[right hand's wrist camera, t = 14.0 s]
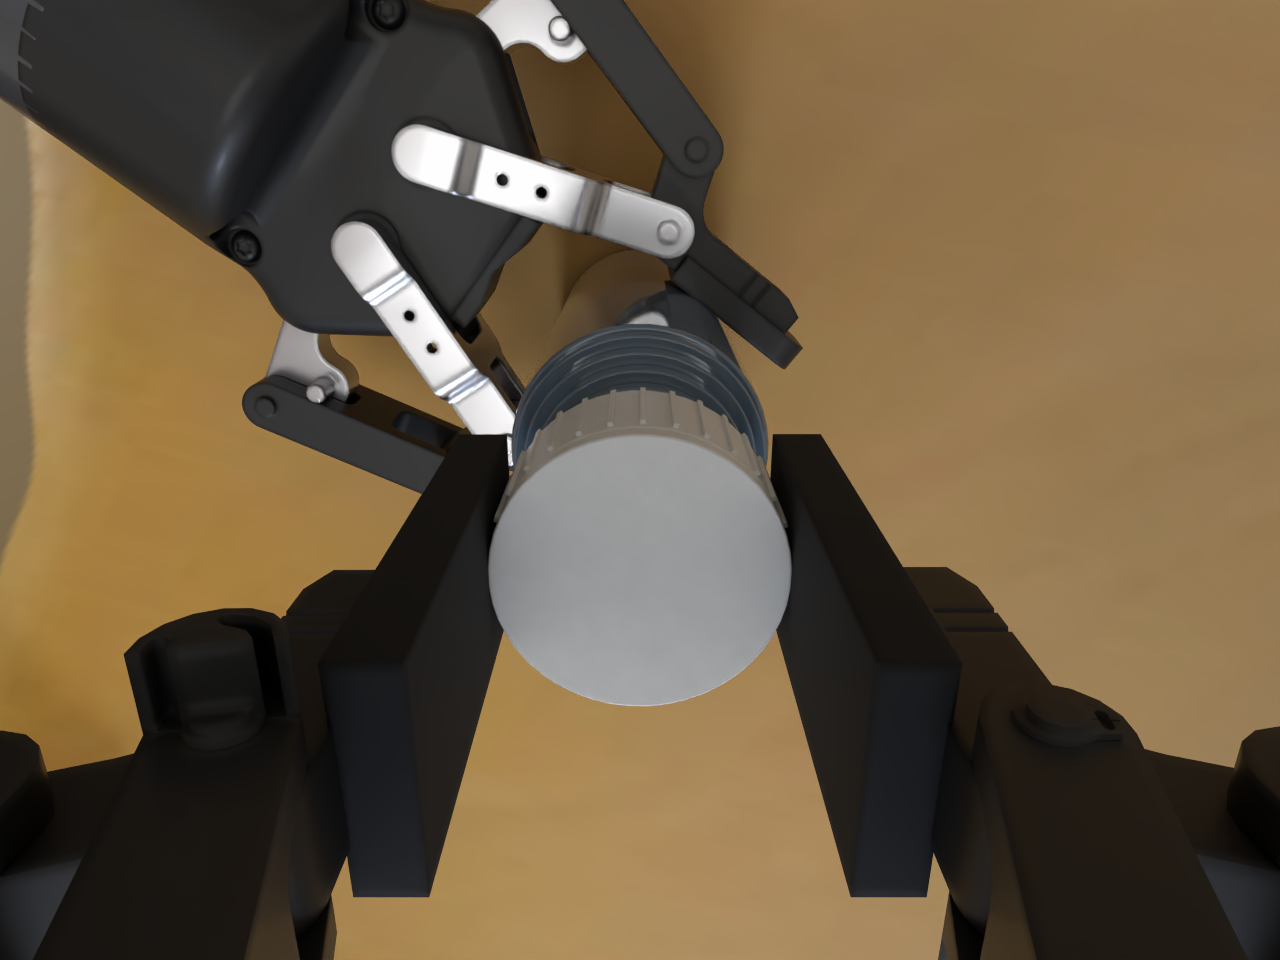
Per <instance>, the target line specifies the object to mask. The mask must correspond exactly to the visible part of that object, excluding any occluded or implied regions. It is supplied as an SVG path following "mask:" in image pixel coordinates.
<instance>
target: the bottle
mask: <svg viewBox="0 0 1280 960" xmlns="http://www.w3.org/2000/svg"><path fill="white" fill-rule="evenodd" d="M640 387H645V388H646V391H657V392H664V393H669V392H670V391H675V395H677V396H681V397H684V398H687V399H690V400H692V401H694V402H697V400H700V401H702V402H703V405H704V406H705V407H707V408H709V409H710V410H712V411H714V412H716V413H717V414H718V415H720V416H722V414H724V415H726V416H727V418H728V421H729V423H730V424H731V425H732V426H733V427H734V428H735V429H736V430H737V431H738V432H739V433H740V434H741V435H742V434H743V433H745V434H746V435H747V437H748V440H749V442H750V445H751V448H752V449H753V451H754V453H755V455H756V457H757V456H759V455H761V457H762V459H763V462H764V465H765V467H766V465H767V460H768V432H767V425H766V420H765V416H764V412H763V409H762V406H761V404H760V401H759V399H758V396H757V394H756V392H755V390H754V387H753V385H752V383H751V381H750V379H749V377H748V375H747V372H746V370H745V368H744V366H743V364H742V362H741V359H740V357H739V355H738V353H737V351H736V349H735V346H734V344H733V342H732V340H731V338H730V336H729V334H728V331H727V329H726V327H725V325H724V323H723V321H721V320H720V319H719V318H718V317H716V316H715V315H714V314H713V313H712V312H711V311H710V310H709V309H708V308H706V307H705V306H704V305H703V304H701V303H700V302H699V301H697V300H696V299H694V298H693V297H691V296H690V295H689V294H688V293H686V292H685V291H684V290H683V289H681V288H680V287H679V286H678V285H676V284H675V283H674V282H672V281H671V280H670V276H669V271H668V266H667V265H666V264H665V263H663V262H662V261H661V260H660V259H658V258H657V257H656V256H655V255H652V254H648V253H645V252H642V251H639V250H636V249H632V250H625V251H621V252H617V253H614V254H611V255H609V256H607V257H604V258H603V259H601V260H599V261H598V262H596V263H595V264H593V265H592V266H591V267H590V268H589V269H587V270H586V271H585V272H584V273H583V275H582V276H581V277H580V278H579V279H578V281H577V282H576V283H575V285H574V287H573V288H572V290H571V292H570V294H569V296H568V298H567V300H566V303H565V305H564V307H563V309H562V311H561V313H560V316H559V318H558V320H557V322H556V324H555V326H554V329H553V331H552V333H551V335H550V337H549V339H548V342H547V344H546V346H545V348H544V350H543V352H542V354H541V357H540V359H539V361H538V363H537V365H536V367H535V370H534V372H533V374H532V376H531V378H530V380H529V383H528V385H527V387H526V389H525V391H524V393H523V396H522V398H521V400H520V403H519V406H518V409H517V411H516V415H515V419H514V424H513V428H512V441H511V449H512V462H513V467H514V468H515V466H516V463H517V461H518V458H519V455H520V453H521V452H522V450H523V451H525V452H526V451H527V449H528V447H529V446H530V445H531V444H532V442H533V439H534V437H535V434H536V432H537V430H538V429H541V430H542V431H543V430H544V429H545V428H546V427H547V426H548V425H549V424H550V423H551V422H552V421H553V420H555V419H556V416H557V413H558V412H560V411H562V412H563V413H564V412H566V411H568V410H569V409H571V408H573V407H575V406H577V405H578V404H580V403H582V399H584V398H586V397H587V398H588V400H590V399H593V398H595V397H599V396H603V395H607V394H610V391H611V390H615V389H616V392H623V391H632V390H635V391H640Z"/></svg>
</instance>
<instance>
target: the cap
mask: <svg viewBox="0 0 1280 960" xmlns="http://www.w3.org/2000/svg"><path fill="white" fill-rule="evenodd" d="M493 521H494V522H497V524H496V527H495V529H494V532H493V536H492V540H491V544H490V549H489V558H488V577H489V589H490V594H491V599H492V604H493V606H494V609H495V612H496V615H497V617H498V620H499V622H500V624H501V626H502V628H503V630H504V631H505V633H506V635H507V637H508V638H509V640H510V641H511V642H512V644H513V645H514V647H515V648H516V649H517V651H518V652H519V653H520V654H521V655H522V656H523V657H524V658H525V659H526V660H527V662H528V663H529V664H530V665H532V666H533V667H534V668H535V669H536V670H538V671H539V672H540V673H541V674H542V675H544V676H545V677H547V678H548V679H550V680H551V681H553V682H555V683H556V684H558V685H559V686H561V687H563V688H565V689H567V690H569V691H572V692H574V693H576V694H579V695H581V696H584V697H587V698H590V699H593V700H597V701H601V702H605V703H610V704H617V705H626V706H653V705H663V704H670V703H674V702H679V701H683V700H687V699H690V698H693V697H696V696H699V695H702V694H704V693H706V692H708V691H710V690H712V689H714V688H717V687H719V686H720V685H722V684H724V683H725V682H727V681H728V680H730V679H732V678H733V677H735V676H736V675H737V674H738V673H740V672H741V671H742V670H743V669H745V668H746V667H747V666H748V665H749V664H750V663H751V662H752V661H753V660H754V659H755V658H756V657H757V656H758V655H759V654H760V653H761V652H762V650H763V649H764V648H765V646H766V645H767V643H768V642H769V641H770V639H771V638H772V636H773V634H774V633H775V631H776V629H777V627H778V625H779V624H780V622H781V619H782V617H783V614H784V611H785V609H786V606H787V602H788V598H789V593H790V589H791V575H792V561H791V550H790V546H789V541H788V537H787V533H786V530H785V528H786V527H788V524H787V521H786V518H785V516H784V513H783V511H782V508H781V506H780V503H779V500H778V498H777V495H776V493H775V490H774V487H773V485H772V482H771V480H770V477H769V475H768V472H767V470H766V467H765V465H764V462H763V459H762V457H761V455H759V456H757V457H756V455H755V453H754V451H753V449H752V448H751V445H750V442H749V440H748V437H747V435H746V434H745V433H743V434H742V435H741V434H740V433H739V432H738V431H737V430H736V429H735V428H734V427H733V426H732V425H731V424H730V423H729V421H728V418H727V416H726V415H724V414H722V416H720V415H718V414H717V413H716V412H714V411H712V410H710V409H709V408H707V407H705V406H704V405H703V402H702V401H700V400H697V402H694V401H692V400H690V399H687V398H684V397H681V396H677V395H675V391H670V392H669V393H664V392H657V391H646V388H645V387H640V391H635V390H632V391H623V392H616V389H615V390H611V391H610V394H607V395H603V396H599V397H595V398H593V399H590V400H588V398H587V397H586V398H584V399H582V403H580V404H578V405H577V406H575V407H573V408H571V409H569V410H568V411H566V412H564V413H563V412H562V411H560V412H558V413H557V416H556V419H555V420H553V421H552V422H551V423H550V424H549V425H548V426H547V427H546V428H545V429H544V430H543V431H542V430H541V429H538V430H537V432H536V434H535V437H534V439H533V442H532V444H531V445H530V446H529V447H528V449H527V451H526V452H525V451H523V450H522V452H521V453H520V455H519V458H518V461H517V463H516V466H515V468H514V471H513V474H512V475H510V478H509V481H508V483H507V486H506V488H505V491H504V494H503V496H502V499H501V501H500V504H499V506H498V509H497V512H496V514H495V517H494V520H493Z"/></svg>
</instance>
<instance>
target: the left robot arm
mask: <svg viewBox="0 0 1280 960" xmlns="http://www.w3.org/2000/svg"><path fill="white" fill-rule="evenodd" d="M521 47H533V48H536V49H538V50H540V51H542V52H543V53H544V54H545V55H546V56H547V57H548V58H549V59H551V60H552V61H553V62H555V63H557V64H560V65H573V64H576V63H578V62H579V61H581V60H582V59H583V58H584V57H585V56H586V55H588V54H589V55H590V56H591V57H592V59H593V60H594V61H595V63H596V64H597V65H598V67H599V68H600V69H601V71H602V72H603V73H604V75H605V76H606V77H607V79H608V80H609V82H610V83H611V84H612V86H613V87H614V88H615V90H616V91H617V92H618V94H619V95H620V96H621V98H622V99H623V100H624V102H625V103H626V104H627V106H628V107H629V108H630V110H631V111H632V112H633V114H634V115H635V116H636V118H637V119H638V120H639V122H640V123H641V124H642V126H643V127H644V128H645V130H646V131H647V132H648V134H649V135H650V136H651V138H652V139H653V140H654V142H655V143H656V144H657V146H658V147H659V148H660V150H661V151H662V152H663V157H662V161H661V164H660V167H659V170H658V173H657V177H656V180H655V183H654V186H653V189H652V193H650V192H647V191H644V190H641V189H638V188H635V187H632V186H629V185H626V184H623V183H620V182H617V181H614V180H611V179H609V178H606V177H604V176H601V175H598V174H595V173H593V172H590V171H586V170H583V169H580V168H577V167H574V166H571V165H568V164H565V163H562V162H559V161H556V160H553V159H550V158H547V157H544V156H541V155H540V152H539V148H538V145H537V142H536V139H535V135H534V132H533V129H532V126H531V122H530V119H529V116H528V113H527V109H526V106H525V103H524V100H523V97H522V93H521V90H520V87H519V84H518V80H517V77H516V74H515V71H514V67H513V64H512V61H511V58H510V55H509V54H510V53H511V52H513V51H514V50H516V49H518V48H521ZM0 99H1V100H3V101H4V102H6V103H7V104H9V105H10V106H11V107H13V108H14V109H16V110H17V111H18V112H20V113H21V114H23V115H24V116H26V117H27V118H28V119H30V120H31V121H33V122H34V123H35V124H37V125H38V126H40V127H41V128H42V129H44V130H45V131H47V132H48V133H50V134H51V135H52V136H54V137H55V138H57V139H58V140H60V141H61V142H63V143H64V144H65V145H67V146H68V147H70V148H71V149H72V150H74V151H75V152H77V153H78V154H80V155H81V156H82V157H84V158H85V159H87V160H88V161H89V162H91V163H92V164H93V165H95V166H96V167H98V168H99V169H101V170H102V171H103V172H105V173H106V174H108V175H109V176H110V177H112V178H113V179H115V180H116V181H118V182H119V183H120V184H122V185H123V186H125V187H126V188H127V189H129V190H130V191H132V192H133V193H135V194H136V195H137V196H139V197H140V198H142V199H143V200H144V201H146V202H147V203H149V204H150V205H152V206H153V207H154V208H156V209H157V210H159V211H160V212H161V213H163V214H164V215H166V216H167V217H169V218H170V219H171V220H173V221H174V222H176V223H177V224H178V225H180V226H181V227H183V228H184V229H186V230H187V231H188V232H190V233H191V234H193V235H194V236H195V237H197V238H198V239H200V240H201V241H203V242H204V243H205V244H207V245H208V246H210V247H211V248H213V249H215V250H216V251H218V252H219V253H221V254H223V255H224V256H226V257H228V258H229V259H231V260H233V261H234V262H236V263H237V264H239V265H240V266H242V267H243V268H244V269H246V270H247V271H248V272H249V273H250V274H251V275H252V276H253V277H254V278H255V280H256V281H257V282H258V283H259V285H260V286H261V287H262V289H263V290H264V292H265V293H266V295H267V297H268V299H269V301H270V303H271V304H272V306H273V308H274V309H275V311H276V312H277V313H278V314H279V315H280V316H281V317H282V318H283V319H284V320H283V324H282V327H281V330H280V333H279V336H278V339H277V343H276V346H275V349H274V352H273V355H272V358H271V361H270V365H269V368H268V371H267V374H266V376H265V377H264V378H263V379H262V380H260V381H259V382H257V383H255V384H254V385H252V386H251V387H249V388H248V389H247V390H246V392H245V393H244V395H243V399H242V406H243V410H244V413H245V415H246V416H247V418H248V419H249V420H250V421H251V422H252V423H253V424H255V425H256V426H258V427H260V428H263V429H265V430H268V431H270V432H273V433H275V434H277V435H280V436H282V437H285V438H287V439H290V440H292V441H294V442H297V443H299V444H302V445H304V446H307V447H309V448H311V449H314V450H316V451H319V452H321V453H324V454H326V455H328V456H331V457H333V458H336V459H338V460H341V461H343V462H345V463H348V464H350V465H353V466H355V467H358V468H360V469H362V470H365V471H367V472H370V473H372V474H375V475H377V476H379V477H382V478H384V479H387V480H389V481H392V482H394V483H396V484H399V485H401V486H404V487H406V488H409V489H411V490H414V491H416V492H418V493H421V494H423V492H424V490H425V489H426V487H427V486H428V484H429V482H430V481H431V479H432V477H433V476H434V474H435V473H436V471H437V469H438V468H439V466H440V465H441V463H442V461H443V460H444V458H445V456H446V455H447V453H448V452H449V450H450V448H451V447H452V445H453V444H454V442H455V440H456V439H457V437H458V435H459V434H507V443H508V461H509V471H514V467H513V462H512V449H511V441H512V428H513V424H514V419H515V415H516V411H517V409H518V406H519V403H520V400H521V398H522V396H523V393H524V391H525V387H524V386H523V384H522V383H521V381H520V380H519V378H518V377H517V375H516V374H515V372H514V371H513V369H512V368H511V367H510V365H509V364H508V362H507V361H506V359H505V357H504V356H503V353H502V350H501V347H500V344H499V342H498V340H497V338H496V337H495V335H494V333H493V332H492V330H491V329H490V327H489V326H488V325H487V323H486V322H485V320H484V319H483V317H482V316H481V314H480V313H479V312H480V311H481V309H482V308H483V306H484V305H485V304H486V302H487V301H488V299H489V298H490V297H491V295H492V294H493V292H494V291H495V289H496V286H497V283H498V281H499V278H500V275H501V272H502V269H503V267H504V264H505V262H506V261H507V260H509V259H510V258H511V257H512V256H514V255H515V254H516V253H517V252H518V251H520V250H521V249H522V248H523V247H524V246H525V245H526V244H528V243H529V242H530V241H531V239H532V238H533V236H534V235H535V234H536V232H537V231H538V229H539V228H540V226H541V225H542V224H543V222H544V223H547V224H550V225H553V226H556V227H559V228H563V229H566V230H569V231H572V232H576V233H580V234H584V235H591V236H595V237H599V238H602V239H605V240H608V241H611V242H614V243H617V244H620V245H624V246H627V247H630V248H633V249H636V250H639V251H642V252H645V253H648V254H652V255H655V256H656V257H657V258H658V259H660V260H661V261H662V262H663V263H665V264H666V265H667V266H668V271H669V276H670V280H671V281H672V282H674V283H675V284H676V285H678V286H679V287H680V288H681V289H683V290H684V291H685V292H686V293H688V294H689V295H690V296H691V297H693V298H694V299H696V300H697V301H699V302H700V303H701V304H703V305H704V306H705V307H706V308H708V309H709V310H710V311H711V312H712V313H713V314H714V315H715V316H716V317H718V318H719V319H720V320H721V321H723V322H724V323H725V324H726V325H728V326H729V327H730V328H731V329H733V330H734V331H735V332H736V333H738V334H739V335H740V336H741V337H743V338H744V339H745V340H746V341H748V342H749V343H750V344H751V345H753V346H754V347H755V348H756V349H758V350H759V351H760V352H761V353H763V354H764V355H765V356H767V357H768V358H769V359H770V360H772V361H773V362H774V363H775V364H777V365H778V366H779V367H781V368H783V369H785V368H786V367H787V366H788V365H789V364H790V363H791V361H792V360H793V359H794V358H795V357H796V356H797V354H798V353H799V352H800V351H801V350H802V349H803V347H802V346H801V345H800V344H799V342H798V341H797V340H796V339H795V337H794V336H793V335H792V334H791V333H790V332H788V329H789V328H790V327H791V326H792V325H793V324H794V322H795V321H796V320H797V319H798V316H797V314H796V312H795V310H794V308H793V306H792V304H791V302H790V300H789V299H788V297H787V296H786V295H785V294H784V293H783V292H782V291H781V290H780V289H779V288H777V287H776V286H775V285H774V284H773V283H771V282H770V281H769V280H768V279H767V278H765V277H764V276H763V275H762V274H760V273H759V272H758V271H757V270H756V269H754V268H753V267H752V266H751V265H750V264H748V263H747V262H746V261H745V260H743V259H742V258H741V257H740V256H739V255H737V254H736V253H735V252H734V251H733V250H731V249H730V248H729V247H728V246H726V245H725V244H724V243H723V242H722V241H720V240H719V239H718V238H717V237H716V236H714V235H713V234H712V233H711V232H710V231H709V230H708V229H707V227H706V225H705V222H704V217H703V205H704V201H705V198H706V195H707V192H708V189H709V186H710V183H711V180H712V177H713V174H714V171H715V169H716V168H717V167H718V166H719V164H720V162H721V160H722V156H723V142H722V139H721V136H720V135H719V133H718V131H717V130H716V129H715V127H714V126H713V124H712V123H711V122H710V120H709V119H708V117H707V116H706V115H705V113H704V112H703V110H702V109H701V108H700V106H699V105H698V104H697V102H696V101H695V99H694V98H693V97H692V95H691V94H690V92H689V91H688V90H687V88H686V87H685V85H684V84H683V83H682V81H681V80H680V79H679V77H678V76H677V74H676V73H675V72H674V70H673V69H672V67H671V66H670V65H669V63H668V62H667V60H666V59H665V58H664V56H663V55H662V54H661V52H660V51H659V49H658V48H657V47H656V45H655V44H654V42H653V41H652V40H651V38H650V37H649V35H648V34H647V33H646V31H645V30H644V29H643V27H642V26H641V24H640V23H639V22H638V20H637V19H636V17H635V16H634V15H633V13H632V12H631V10H630V9H629V8H628V6H627V5H626V3H625V2H624V1H623V0H492V1H491V2H490V3H489V4H488V5H487V6H486V7H485V8H484V9H483V10H482V11H481V12H480V13H478V14H477V15H476V16H475V15H473V14H471V13H468V12H466V11H462V10H458V9H451V8H445V7H440V6H437V5H434V4H431V3H429V2H426V1H424V0H0ZM329 334H340V335H369V336H394V337H395V339H396V340H397V342H398V343H399V344H400V346H401V347H402V349H403V350H404V351H405V353H406V354H407V356H408V357H409V358H410V360H411V361H412V363H413V364H414V365H415V367H416V368H417V369H418V371H419V372H420V374H421V375H422V376H423V378H424V379H425V381H426V382H427V383H428V385H429V386H430V388H431V389H432V390H433V391H434V393H435V394H436V395H437V396H438V397H440V398H441V399H443V400H446V401H447V402H449V403H450V404H451V406H452V407H453V408H454V410H455V411H456V412H457V414H458V415H459V417H460V418H461V419H462V421H463V422H464V424H465V425H466V426H467V427H466V428H464V429H463V428H460V427H458V426H456V425H453V424H451V423H449V422H446V421H444V420H442V419H439V418H437V417H435V416H432V415H430V414H428V413H425V412H423V411H421V410H418V409H416V408H414V407H411V406H409V405H407V404H404V403H402V402H399V401H397V400H395V399H392V398H390V397H388V396H385V395H383V394H381V393H378V392H376V391H374V390H371V389H369V388H367V387H364V386H362V385H360V384H359V375H358V372H357V370H356V368H355V367H354V365H353V364H352V363H351V362H350V361H348V360H347V359H345V358H344V357H342V356H341V355H339V354H338V353H337V352H336V351H335V349H334V348H333V346H332V344H331V341H330V335H329ZM431 343H434V344H435V345H436V346H437V349H435V348H433V347H432V345H431Z"/></svg>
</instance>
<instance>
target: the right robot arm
mask: <svg viewBox="0 0 1280 960" xmlns="http://www.w3.org/2000/svg"><path fill="white" fill-rule="evenodd" d="M770 480H771V482H772V485H773V487H774V490H775V493H776V495H777V498H778V500H779V503H780V506H781V508H782V511H783V513H784V516H785V518H786V521H787V524H788V527H786V528H785V530H786V533H787V537H788V541H789V546H790V550H791V561H792V575H791V589H790V593H789V598H788V602H787V606H786V609H785V611H784V614H783V617H782V619H781V622H780V624H779V625H778V627H777V629H776V631H777V635H778V638H779V642H780V645H781V649H782V652H783V656H784V660H785V663H786V667H787V670H788V674H789V678H790V681H791V685H792V688H793V692H794V695H795V699H796V703H797V706H798V710H799V713H800V717H801V720H802V724H803V728H804V731H805V735H806V738H807V742H808V746H809V749H810V753H811V756H812V760H813V763H814V767H815V771H816V774H817V778H818V781H819V785H820V788H821V792H822V796H823V799H824V803H825V806H826V810H827V814H828V817H829V821H830V824H831V828H832V831H833V835H834V839H835V842H836V846H837V849H838V853H839V857H840V860H841V864H842V867H843V871H844V874H845V878H846V882H847V885H848V889H849V892H850V896H851V897H927V891H928V884H929V878H930V871H931V865H932V858H933V852H934V854H935V857H936V859H937V862H938V864H939V867H940V869H941V871H942V874H943V876H944V879H945V881H946V883H947V886H948V888H949V897H948V903H947V909H946V915H945V921H944V927H943V933H942V939H941V945H940V951H939V957H938V960H1280V727H1273V728H1267V729H1261V730H1255V731H1254V732H1253V733H1252V734H1250V735H1249V736H1248V737H1247V738H1245V739H1244V740H1243V741H1242V743H1241V747H1240V750H1239V753H1238V757H1237V760H1236V764H1235V767H1234V768H1231V767H1226V766H1221V765H1216V764H1211V763H1206V762H1201V761H1196V760H1191V759H1185V758H1180V757H1175V756H1170V755H1165V754H1162V753H1158V752H1154V751H1150V750H1146V749H1144V747H1143V745H1142V743H1141V741H1140V739H1139V737H1138V735H1137V733H1136V732H1135V731H1134V730H1133V729H1132V727H1131V726H1130V725H1129V724H1128V722H1127V721H1126V720H1125V719H1124V717H1123V716H1122V715H1120V714H1119V713H1117V712H1116V711H1114V710H1113V709H1111V708H1110V707H1108V706H1107V705H1105V704H1104V703H1102V702H1101V701H1099V700H1097V699H1094V698H1092V697H1089V696H1087V695H1084V694H1082V693H1080V692H1077V691H1075V690H1072V689H1069V688H1064V687H1059V686H1054V685H1052V684H1051V683H1050V681H1049V680H1048V679H1047V678H1046V676H1045V675H1044V674H1043V672H1042V671H1041V670H1040V668H1039V667H1038V666H1037V664H1036V663H1035V662H1034V660H1033V659H1032V658H1031V656H1030V655H1029V654H1028V652H1027V651H1026V650H1025V649H1024V647H1023V646H1022V645H1021V643H1020V642H1019V641H1018V639H1017V638H1016V637H1015V635H1014V634H1013V633H1012V632H1008V626H1007V625H1006V624H1005V622H1004V621H1003V620H1002V618H1001V617H1000V616H999V614H998V613H994V608H993V606H992V605H991V604H990V602H989V601H988V600H987V599H986V597H985V596H984V595H983V593H982V592H981V591H980V589H979V588H978V587H977V586H976V585H974V584H973V583H971V582H970V581H968V580H966V579H965V578H963V577H962V576H960V575H958V574H957V573H955V572H953V571H952V570H950V569H949V568H947V567H903V566H902V565H901V563H900V562H899V560H898V558H897V557H896V555H895V553H894V552H893V550H892V549H891V547H890V545H889V544H888V542H887V541H886V539H885V537H884V536H883V534H882V532H881V531H880V529H879V528H878V526H877V524H876V523H875V521H874V520H873V518H872V516H871V515H870V513H869V511H868V510H867V508H866V507H865V505H864V503H863V502H862V500H861V499H860V497H859V495H858V494H857V492H856V490H855V489H854V487H853V486H852V484H851V482H850V481H849V479H848V478H847V476H846V474H845V473H844V471H843V469H842V468H841V466H840V465H839V463H838V461H837V460H836V458H835V457H834V455H833V453H832V452H831V450H830V448H829V447H828V445H827V444H826V442H825V440H824V439H823V437H822V436H821V434H773V443H772V460H771V478H770ZM508 481H509V461H508V443H507V434H459V435H458V437H457V439H456V440H455V442H454V444H453V445H452V447H451V448H450V450H449V452H448V453H447V455H446V456H445V458H444V460H443V461H442V463H441V465H440V466H439V468H438V469H437V471H436V473H435V474H434V476H433V477H432V479H431V481H430V482H429V484H428V486H427V487H426V489H425V490H424V492H423V494H422V495H421V497H420V498H419V500H418V502H417V503H416V505H415V507H414V508H413V510H412V511H411V513H410V515H409V516H408V518H407V519H406V521H405V523H404V524H403V526H402V528H401V529H400V531H399V532H398V534H397V536H396V537H395V539H394V540H393V542H392V544H391V545H390V547H389V549H388V550H387V552H386V553H385V555H384V557H383V558H382V560H381V561H380V563H379V565H378V566H377V568H376V570H333V571H332V572H330V573H328V574H327V575H325V576H324V577H322V578H320V579H319V580H317V581H316V582H314V583H312V584H311V585H309V586H308V587H306V588H304V589H303V590H302V592H301V593H300V594H299V596H298V597H297V598H296V600H295V601H294V602H293V604H292V605H291V606H290V608H289V609H288V610H287V611H286V613H287V614H286V616H283V617H282V618H281V619H280V618H279V617H278V616H276V615H275V614H274V613H270V612H266V611H262V610H257V609H253V608H224V609H218V610H213V611H207V612H202V613H196V614H192V615H189V616H186V617H183V618H181V619H178V620H175V621H172V622H169V623H166V624H164V625H162V626H160V627H158V628H156V629H155V630H153V631H151V632H149V633H148V634H146V635H144V636H142V637H141V638H139V639H138V640H137V641H136V642H135V643H134V644H133V645H132V646H131V647H130V648H129V649H128V650H127V651H126V652H125V653H124V658H125V662H126V666H127V670H128V674H129V678H130V682H131V687H132V691H133V695H134V699H135V703H136V707H137V711H138V715H139V719H140V723H141V727H142V732H143V737H142V739H141V741H140V743H139V745H138V747H137V749H136V751H135V753H134V754H130V755H126V756H123V757H119V758H115V759H110V760H105V761H100V762H95V763H90V764H85V765H80V766H74V767H69V768H64V769H59V770H54V771H49V772H47V770H46V767H45V764H44V760H43V757H42V754H41V750H40V747H39V745H38V744H37V743H36V742H34V741H33V740H32V739H31V738H29V737H28V736H27V735H25V734H19V733H13V732H7V731H0V960H333V959H334V951H335V943H336V935H337V930H336V923H335V915H334V909H333V903H332V897H331V893H332V890H333V888H334V886H335V883H336V881H337V878H338V876H339V873H340V871H341V869H342V866H343V864H344V861H345V859H346V856H347V859H348V865H349V872H350V878H351V885H352V891H353V897H429V896H430V892H431V889H432V885H433V881H434V878H435V874H436V871H437V867H438V864H439V860H440V856H441V853H442V849H443V846H444V842H445V838H446V835H447V831H448V828H449V824H450V821H451V817H452V813H453V810H454V806H455V803H456V799H457V796H458V792H459V788H460V785H461V781H462V778H463V774H464V770H465V767H466V763H467V760H468V756H469V753H470V749H471V745H472V742H473V738H474V735H475V731H476V728H477V724H478V720H479V717H480V713H481V710H482V706H483V702H484V699H485V695H486V692H487V688H488V685H489V681H490V677H491V674H492V670H493V667H494V663H495V660H496V656H497V652H498V649H499V645H500V642H501V638H502V634H503V631H504V630H503V628H502V626H501V624H500V622H499V620H498V617H497V615H496V612H495V609H494V606H493V604H492V599H491V594H490V589H489V577H488V558H489V549H490V544H491V540H492V536H493V532H494V529H495V527H496V524H497V522H494V521H493V520H494V517H495V514H496V512H497V509H498V506H499V504H500V501H501V499H502V496H503V494H504V491H505V488H506V486H507V483H508Z"/></svg>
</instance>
